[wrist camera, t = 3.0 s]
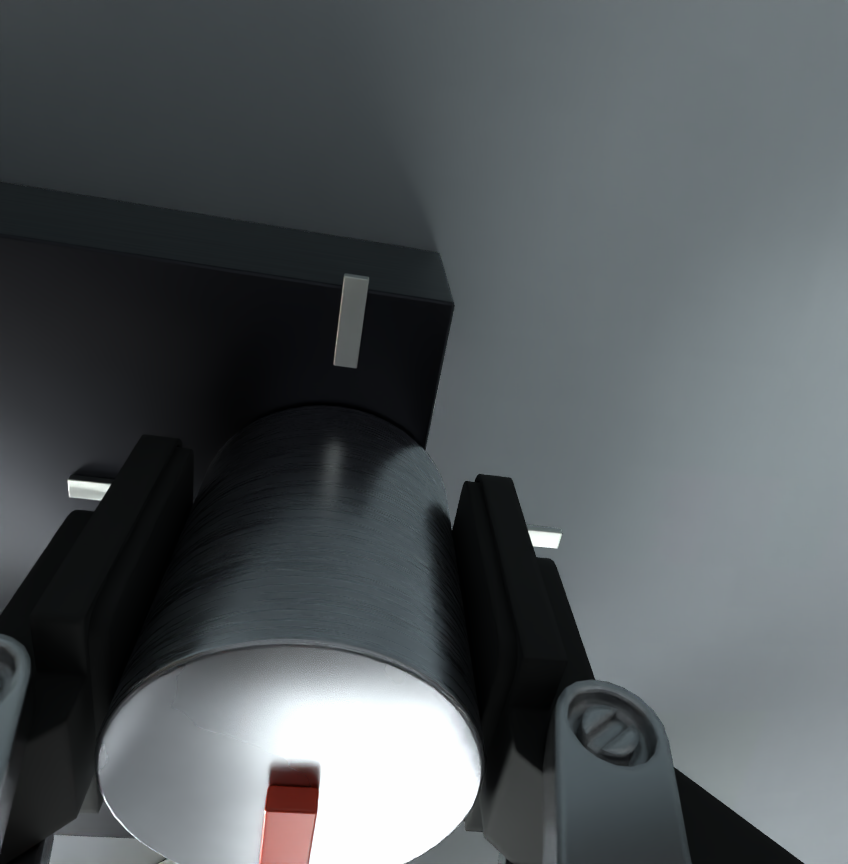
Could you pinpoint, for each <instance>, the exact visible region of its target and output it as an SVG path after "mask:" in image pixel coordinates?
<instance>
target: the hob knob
mask: <svg viewBox="0 0 848 864" xmlns="http://www.w3.org/2000/svg"><path fill="white" fill-rule="evenodd" d="M485 759H486V756H485V749H484V742H483V736H482V729H481V722H480V716H479V709H478V702H477V696H476V689H475V682H474V676H473V669H472V662H471V656H470V649H469V642H468V636H467V629H466V622H465V615H464V609H463V602H462V595H461V589H460V582H459V575H458V569H457V562H456V555H455V549H454V542H453V535H452V529H451V522H450V515H449V509H448V502H447V496H446V490H445V486H444V483H443V480H442V477H441V475H440V473H439V471H438V469H437V467H436V465H435V463H434V462H433V461H432V459H431V458H430V456H429V455H428V454H427V452H426V451H425V450H424V449H423V448H422V447H421V446H420V445H419V444H418V443H417V442H416V441H415V440H414V439H413V438H412V437H410V436H409V435H408V434H407V433H405V432H404V431H403V430H401V429H400V428H398V427H396V426H395V425H393V424H391V423H390V422H388V421H386V420H384V419H381V418H379V417H377V416H375V415H372V414H369V413H366V412H363V411H360V410H356V409H351V408H345V407H340V406H326V405H318V406H303V407H297V408H291V409H286V410H283V411H279V412H276V413H273V414H270V415H268V416H265V417H263V418H261V419H258V420H256V421H254V422H253V423H251V424H249V425H248V426H246V427H244V428H243V429H241V430H240V431H239V432H238V433H236V434H235V435H234V436H233V437H231V438H230V439H229V440H228V441H227V442H226V443H225V445H224V446H223V447H222V448H221V449H220V450H219V452H218V453H217V455H216V456H215V457H214V459H213V460H212V462H211V464H210V466H209V468H208V471H207V473H206V475H205V477H204V480H203V482H202V485H201V487H200V489H199V492H198V494H197V497H196V499H195V501H194V504H193V506H192V509H191V511H190V514H189V516H188V518H187V521H186V523H185V526H184V528H183V530H182V533H181V535H180V538H179V540H178V542H177V545H176V547H175V550H174V552H173V555H172V557H171V559H170V562H169V564H168V567H167V569H166V571H165V574H164V576H163V579H162V581H161V583H160V586H159V588H158V591H157V593H156V596H155V598H154V600H153V603H152V605H151V608H150V610H149V612H148V615H147V617H146V620H145V622H144V624H143V627H142V629H141V632H140V634H139V636H138V639H137V641H136V644H135V646H134V649H133V651H132V653H131V656H130V658H129V661H128V663H127V665H126V668H125V670H124V673H123V675H122V677H121V680H120V682H119V685H118V687H117V690H116V692H115V694H114V697H113V699H112V702H111V704H110V706H109V709H108V711H107V714H106V716H105V718H104V721H103V723H102V726H101V728H100V731H99V734H98V738H97V742H96V746H95V773H96V778H97V783H98V787H99V789H100V792H101V794H102V797H103V799H104V801H105V803H106V805H107V806H108V808H109V809H110V811H111V812H112V814H113V816H114V817H115V818H116V819H117V820H118V821H119V822H120V824H121V825H122V826H123V827H124V828H125V829H126V830H127V831H128V832H129V833H130V834H132V835H133V836H134V837H135V838H136V839H137V840H139V841H140V842H141V843H143V844H144V845H146V846H147V847H149V848H150V849H152V850H153V851H155V852H156V853H158V854H160V855H162V856H164V857H166V858H168V859H169V860H171V861H173V862H175V863H178V864H405V863H407V862H409V861H411V860H413V859H415V858H417V857H419V856H421V855H423V854H424V853H426V852H428V851H429V850H431V849H432V848H434V847H435V846H437V845H438V844H440V843H441V842H442V841H443V840H444V839H446V838H447V837H448V836H449V835H450V834H451V833H453V832H454V831H455V829H456V828H457V827H458V826H459V825H460V824H461V823H462V822H463V821H464V820H465V818H466V817H467V815H468V814H469V812H470V811H471V809H472V808H473V806H474V804H475V802H476V800H477V797H478V795H479V793H480V790H481V787H482V783H483V779H484V774H485Z"/></svg>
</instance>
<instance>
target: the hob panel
mask: <svg viewBox="0 0 848 864" xmlns="http://www.w3.org/2000/svg"><path fill="white" fill-rule="evenodd" d="M454 306H455V305H454V301H453V298H452V294H451V291H450V287H449V284H448V281H447V277H446V274H445V271H444V267H443V264H442V260H441V257H440V254H439V253H438V252H432V251H426V250H420V249H414V248H408V247H401V246H395V245H389V244H383V243H377V242H370V241H364V240H358V239H352V238H346V237H339V236H333V235H327V234H321V233H315V232H309V231H302V230H296V229H290V228H284V227H278V226H271V225H265V224H259V223H253V222H247V221H240V220H234V219H228V218H222V217H216V216H209V215H203V214H197V213H191V212H185V211H178V210H172V209H166V208H160V207H154V206H147V205H141V204H135V203H129V202H123V201H117V200H110V199H104V198H98V197H92V196H86V195H79V194H73V193H67V192H61V191H55V190H48V189H42V188H36V187H30V186H24V185H17V184H11V183H5V182H0V615H1V613H2V612H3V610H4V609H5V607H6V606H7V604H8V603H9V601H10V600H11V598H12V597H13V596H14V594H15V593H16V591H17V590H18V588H19V587H20V585H21V584H22V582H23V581H24V579H25V578H26V576H27V575H28V573H29V572H30V570H31V569H32V567H33V566H34V564H35V563H36V561H37V560H38V559H39V557H40V556H41V554H42V553H43V551H44V550H45V548H46V547H47V545H48V544H49V542H50V541H51V539H52V538H53V536H54V535H55V533H56V532H57V530H58V529H59V527H60V526H61V524H62V523H63V522H64V520H65V519H66V517H67V516H68V515H69V514H70V513H71V512H72V511H74V510H85V511H95V509H96V508H97V506H98V505H99V503H100V501H101V500H102V498H103V497H104V495H105V493H106V492H107V490H108V489H109V487H110V485H111V484H112V482H113V481H114V479H115V477H116V476H117V474H118V473H119V471H120V469H121V468H122V466H123V465H124V463H125V461H126V460H127V458H128V457H129V455H130V453H131V452H132V450H133V449H134V447H135V445H136V444H137V442H138V440H139V439H140V437H141V436H142V435H144V434H147V435H156V436H164V437H173V438H180V439H181V441H182V448H189V449H193V452H194V489H193V504H194V501H195V499H196V497H197V494H198V492H199V489H200V487H201V485H202V482H203V480H204V477H205V475H206V473H207V471H208V468H209V466H210V464H211V462H212V460H213V459H214V457H215V456H216V455H217V453H218V452H219V450H220V449H221V448H222V447H223V446H224V445H225V443H226V442H227V441H228V440H229V439H230V438H231V437H233V436H234V435H235V434H236V433H238V432H239V431H240V430H241V429H243V428H244V427H246V426H248V425H249V424H251V423H253V422H254V421H256V420H258V419H261V418H263V417H265V416H268V415H270V414H273V413H276V412H279V411H283V410H286V409H291V408H297V407H303V406H318V405H326V406H340V407H345V408H351V409H356V410H360V411H363V412H366V413H369V414H372V415H375V416H377V417H379V418H381V419H384V420H386V421H388V422H390V423H391V424H393V425H395V426H396V427H398V428H400V429H401V430H403V431H404V432H405V433H407V434H408V435H409V436H410V437H412V438H413V439H414V440H415V441H416V442H417V443H418V444H419V445H420V446H421V447H422V448H423V449H424V450H426V445H427V440H428V435H429V430H430V425H431V420H432V415H433V410H434V405H435V400H436V395H437V390H438V385H439V380H440V376H441V371H442V366H443V361H444V356H445V351H446V346H447V341H448V336H449V331H450V326H451V321H452V316H453V311H454ZM527 529H528V532H529V535H530V538H531V542H532V545H533V546H536V547H546V548H555V549H557V548H558V546H559V543H560V540H561V537H562V534H563V533H562V530H561V528H553V527H544V526H535V525H527ZM54 835H68V836H91V837H114V838H135V837H134V836H133V835H132V834H130V833H129V832H128V831H127V830H126V829H125V828H124V827H123V826H122V825H121V824H120V822H119V821H118V820H117V819H116V818H115V817H114V816H113V814H112V812H111V811H110V809H109V808H108V806H107V805H106V803H105V801H104V800H103V803H102V806H101V808H100V811H99V814H98V813H79V814H78V816H77V818H76V819H75V820H73V821H72V822H70V823H69V824H67V825H65V826H64V827H62V828H61V829H59V830H58V831H56V832H55V833H54Z"/></svg>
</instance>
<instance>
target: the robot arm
mask: <svg viewBox="0 0 848 864" xmlns="http://www.w3.org/2000/svg"><path fill="white" fill-rule="evenodd" d="M193 489H194V452H193V449H189V448H182V441H181V439H180V438H173V437H164V436H156V435H147V434H144V435H142V436H141V437H140V439H139V440H138V442H137V444H136V445H135V447H134V449H133V450H132V452H131V453H130V455H129V457H128V458H127V460H126V461H125V463H124V465H123V466H122V468H121V469H120V471H119V473H118V474H117V476H116V477H115V479H114V481H113V482H112V484H111V485H110V487H109V489H108V490H107V492H106V493H105V495H104V497H103V498H102V500H101V501H100V503H99V505H98V506H97V508H96V509H95V511H85V510H74V511H72V512H71V513H70V514H69V515H68V516H67V517H66V519H65V520H64V522H63V523H62V524H61V526H60V527H59V529H58V530H57V532H56V533H55V535H54V536H53V538H52V539H51V541H50V542H49V544H48V545H47V547H46V548H45V550H44V551H43V553H42V554H41V556H40V557H39V559H38V560H37V561H36V563H35V564H34V566H33V567H32V569H31V570H30V572H29V573H28V575H27V576H26V578H25V579H24V581H23V582H22V584H21V585H20V587H19V588H18V590H17V591H16V593H15V594H14V596H13V597H12V598H11V600H10V601H9V603H8V604H7V606H6V607H5V609H4V610H3V612H2V613H1V615H0V864H49V862H50V857H51V851H52V846H53V840H54V833H55V832H56V831H58V830H59V829H61V828H62V827H64V826H65V825H67V824H69V823H70V822H72V821H73V820H75V819H76V818H77V816H78V814H79V813H98V814H99V811H100V808H101V806H102V803H103V800H104V799H103V797H102V794H101V792H100V789H99V787H98V783H97V778H96V773H95V746H96V742H97V738H98V734H99V731H100V728H101V726H102V723H103V721H104V718H105V716H106V714H107V711H108V709H109V706H110V704H111V702H112V699H113V697H114V694H115V692H116V690H117V687H118V685H119V682H120V680H121V677H122V675H123V673H124V670H125V668H126V665H127V663H128V661H129V658H130V656H131V653H132V651H133V649H134V646H135V644H136V641H137V639H138V636H139V634H140V632H141V629H142V627H143V624H144V622H145V620H146V617H147V615H148V612H149V610H150V608H151V605H152V603H153V600H154V598H155V596H156V593H157V591H158V588H159V586H160V583H161V581H162V579H163V576H164V574H165V571H166V569H167V567H168V564H169V562H170V559H171V557H172V555H173V552H174V550H175V547H176V545H177V542H178V540H179V538H180V535H181V533H182V530H183V528H184V526H185V523H186V521H187V518H188V516H189V514H190V511H191V509H192V506H193ZM452 535H453V542H454V549H455V555H456V562H457V569H458V575H459V582H460V589H461V595H462V602H463V609H464V615H465V622H466V629H467V636H468V642H469V649H470V656H471V662H472V669H473V676H474V682H475V689H476V696H477V702H478V709H479V716H480V722H481V729H482V736H483V742H484V749H485V756H486V759H485V774H484V779H483V783H482V787H481V790H480V793H479V795H478V797H477V800H476V802H475V804H474V806H473V808H472V809H471V811H470V812H469V814H468V815H467V817H466V818H465V820H464V821H465V830H466V831H473V832H484V838H485V839H486V840H488V841H489V842H490V843H491V844H492V845H493V846H494V847H495V848H496V849H497V850H498V851H499V852H500V853H499V857H498V864H804V863H803V862H801V861H800V860H799V859H797V858H796V857H795V856H793V855H792V854H791V853H789V852H788V851H787V850H785V849H784V848H783V847H781V846H780V845H779V844H777V843H776V842H774V841H773V840H772V839H770V838H769V837H768V836H766V835H765V834H764V833H762V832H761V831H760V830H758V829H757V828H756V827H754V826H753V825H752V824H750V823H749V822H748V821H746V820H745V819H743V818H742V817H741V816H739V815H738V814H737V813H735V812H734V811H733V810H731V809H730V808H729V807H727V806H726V805H725V804H723V803H722V802H721V801H719V800H718V799H717V798H715V797H714V796H712V795H711V794H710V793H708V792H707V791H706V790H704V789H703V788H702V787H700V786H699V785H698V784H696V783H695V782H694V781H692V780H691V779H690V778H688V777H687V776H686V775H684V774H683V773H682V772H680V771H679V770H677V769H676V768H675V767H674V766H673V760H672V755H671V750H670V744H669V740H668V737H667V734H666V731H665V728H664V725H663V724H662V722H661V721H660V719H659V718H658V716H657V715H656V714H655V712H654V711H653V710H652V709H651V708H650V707H649V706H648V705H647V704H646V703H645V702H644V701H643V700H642V699H641V698H640V697H638V696H636V695H635V694H633V693H632V692H630V691H628V690H627V689H625V688H623V687H620V686H618V685H615V684H612V683H610V682H606V681H598V680H595V678H594V675H593V672H592V669H591V666H590V663H589V660H588V657H587V654H586V651H585V648H584V646H583V643H582V640H581V637H580V634H579V631H578V628H577V625H576V622H575V619H574V616H573V613H572V610H571V607H570V605H569V602H568V599H567V596H566V593H565V590H564V587H563V584H562V581H561V578H560V575H559V572H558V569H557V567H556V565H555V563H554V561H553V560H551V559H549V558H539V557H536V555H535V551H534V548H533V545H532V542H531V538H530V535H529V532H528V529H527V525H526V522H525V519H524V516H523V512H522V509H521V506H520V503H519V499H518V496H517V493H516V490H515V486H514V483H513V481H512V479H511V478H509V477H501V476H492V475H484V474H478V475H477V477H476V479H475V482H471V481H465V482H464V484H463V487H462V491H461V495H460V500H459V504H458V508H457V512H456V516H455V520H454V525H453V529H452Z"/></svg>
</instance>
